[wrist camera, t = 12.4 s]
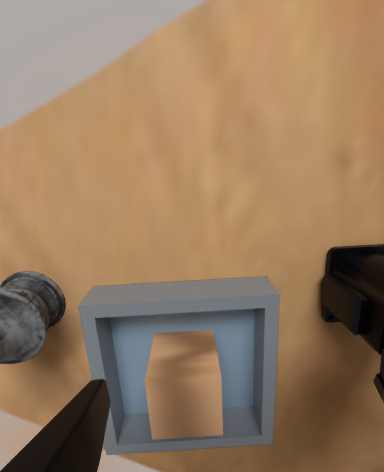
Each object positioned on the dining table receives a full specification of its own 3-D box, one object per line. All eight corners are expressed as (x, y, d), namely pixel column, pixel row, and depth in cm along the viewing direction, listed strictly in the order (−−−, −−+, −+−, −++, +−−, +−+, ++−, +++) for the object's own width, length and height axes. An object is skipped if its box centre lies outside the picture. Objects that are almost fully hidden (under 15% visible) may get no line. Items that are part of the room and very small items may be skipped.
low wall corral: (266, 276, 20) (279, 294, 17) (262, 410, 24) (273, 444, 21) (93, 286, 20) (77, 306, 17) (116, 420, 24) (106, 454, 21)
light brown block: (213, 329, 21) (221, 377, 16) (215, 377, 22) (223, 435, 18) (154, 333, 21) (144, 382, 16) (159, 381, 22) (152, 439, 18)
